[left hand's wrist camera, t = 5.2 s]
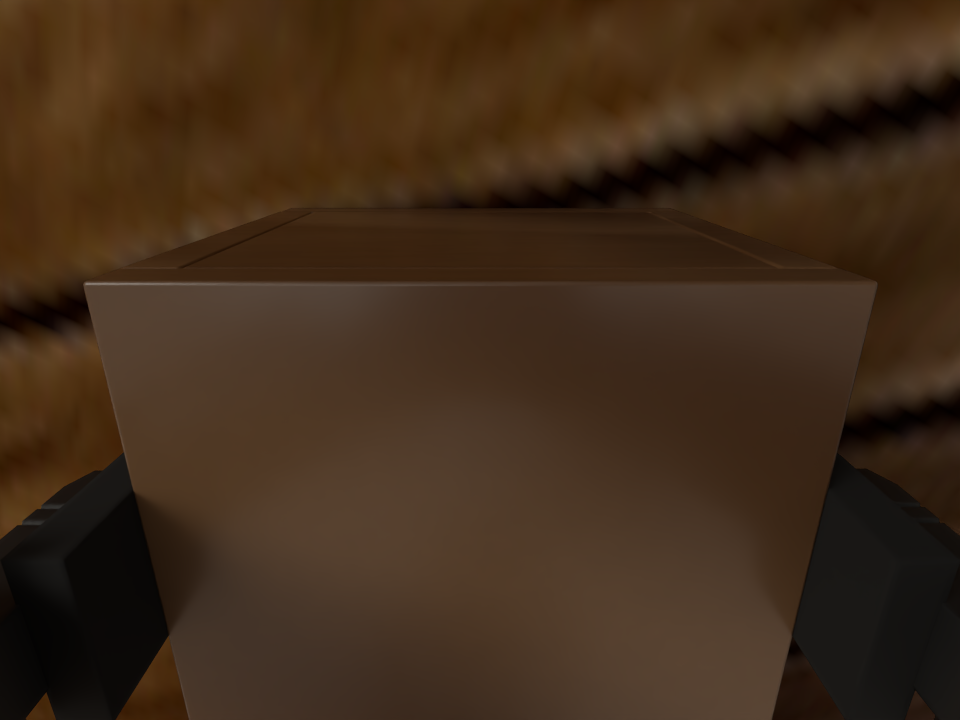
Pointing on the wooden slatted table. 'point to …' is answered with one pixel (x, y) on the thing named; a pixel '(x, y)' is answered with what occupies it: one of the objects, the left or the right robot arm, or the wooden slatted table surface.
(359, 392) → the cabinet
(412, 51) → the wooden slatted table surface
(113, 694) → the left robot arm
